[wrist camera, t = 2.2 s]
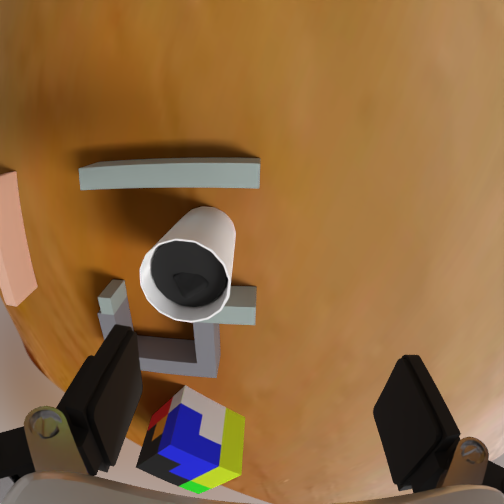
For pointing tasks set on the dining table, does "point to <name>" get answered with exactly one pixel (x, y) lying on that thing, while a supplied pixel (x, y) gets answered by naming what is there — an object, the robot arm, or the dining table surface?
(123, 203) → the dining table surface
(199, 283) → the white cup
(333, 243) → the dining table surface
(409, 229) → the dining table surface
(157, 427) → the puzzle toy
